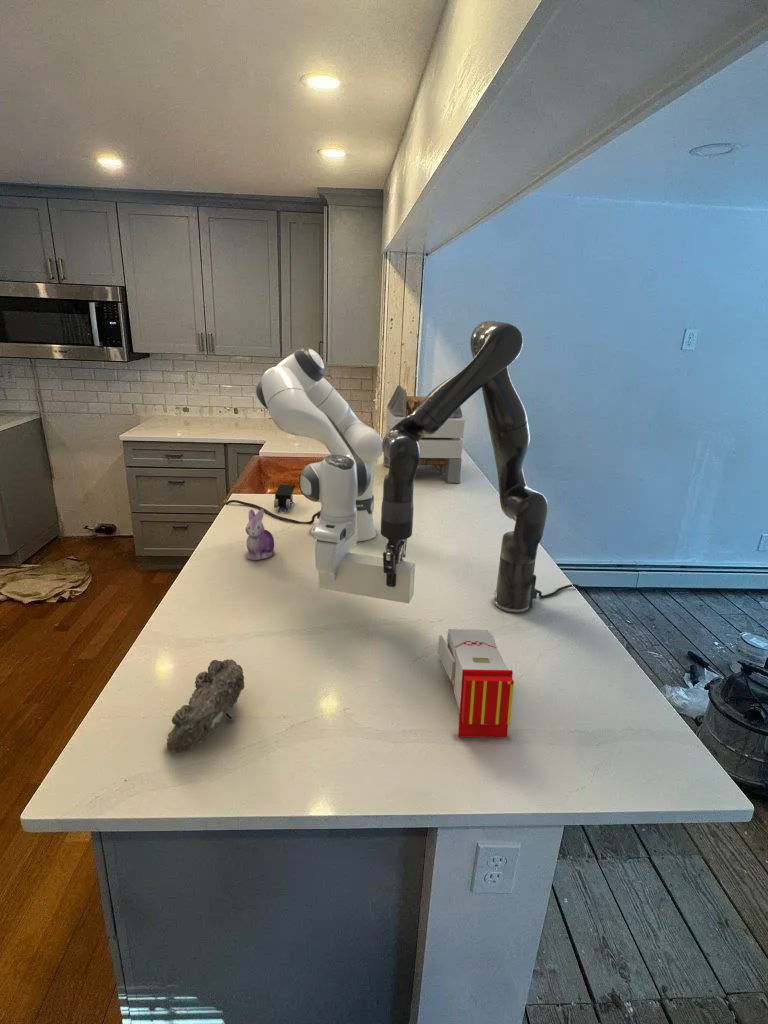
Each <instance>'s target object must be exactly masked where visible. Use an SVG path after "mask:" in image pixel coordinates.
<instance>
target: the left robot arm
mask: <svg viewBox="0 0 768 1024" xmlns="http://www.w3.org/2000/svg"><path fill="white" fill-rule="evenodd" d="M325 373H326V366H325V363H324V361H323V359H322V356H321V355H320V353H317V352H316V351H315V350H314V349H312V348H311V347H309V346H302V347H300V348H298V349H296V350H294V352H293V353H291V354H290V355H288V356H287V357H285V358H283V360H281V361H280V362H278V364H277V365H275V366H272V367H270V368H268V369H267V370H265V372H263V375H262V377H261V379H260V381H259V382H258V383H257V385H256V388H255V393H256V394H255V395H256V397H257V399H258V401H259V402H260V403H261V405H262V406H263V407H264V408H265V409H267V411H268V412H269V415H270V418H271V420H272V421H273V423H274V424H275V426H276V427H277V428H278V429H279V430H281V431H282V432H284V433H286V434H289V435H293V436H300V437H305V438H309V439H313V440H315V441H318V442H320V443H321V444H323V445H324V446H325V447H326V449H327V450H328V452H329V454H330V455H327V456H326V457H324V458H323V459H322V460H321V461H317V462H312V463H307V464H306V465H304V467H303V468H302V469H301V471H300V473H299V476H298V477H299V478H298V486H299V491H300V494H301V495H303V497H305V498H306V499H307V500H309V501H311V502H313V503H320V505H321V506H320V507H321V508H320V510H319V511H317V512H315V513H314V514H313V515H312V517H311V520H310V521H300V520H296V519H293V518H288V517H283V516H280V515H277V514H275V513H273V512H271V511H269V510H268V509H266V508H264V507H262V506H260V505H258V504H254V503H250V502H245V501H241V500H237V499H230V500H228V501H226V502H225V503H224V505H229V504H232V503H237V504H240V505H244V506H248V507H253V508H256V509H259V510H260V509H262V508H263V509H264V513H266V514H268V515H269V516H271V517H273V518H276V519H279V520H282V521H286V522H290V523H293V524H301V525H312V524H313V523H314V522H315V518H316V519H318V521H317V523H315V524H314V525H313V526H312V528H311V530H310V533H311V536H312V537H313V540H315V545H314V561H315V568H316V571H318V572H319V571H320V572H325V573H327V575H328V581H330V582H334V581H335V580H336V578H337V577H336V576H337V573H335V569H336V566H337V565H338V564H339V563H340V562H341V560H342V559H343V558H344V557H345V555H346V554H347V553H351V551H352V549H354V547H355V546H356V545H357V542H365V541H368V540H372V539H373V538H375V537H376V535H377V532H376V528H375V523H374V513H373V512H374V509H375V496H374V476H375V470H376V466H377V463H378V460H379V458H380V457H381V456H382V454H383V451H382V441H383V438H382V436H381V435H380V433H379V432H378V431H377V430H376V429H374V428H373V427H370V426H369V425H367V424H366V423H364V422H363V421H361V420H360V419H359V418H358V416H357V415H356V414H355V412H354V410H352V409H351V407H350V404H349V403H348V402H347V401H346V400H345V399H344V398H343V396H342V395H341V394H340V393H339V392H338V391H337V390H336V389H335V388H334V386H333V385H332V384H331V383H330V382H329V381H328V380H327V379H326V378H325V377H324V375H325Z"/></svg>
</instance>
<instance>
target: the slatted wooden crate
mask: <svg viewBox="0 0 768 1024" xmlns="http://www.w3.org/2000/svg"><path fill="white" fill-rule="evenodd" d="M407 394H408V393H407V390H406V389H404V388H403V387H402V385H399V384H398V385H397V386H396V388H395V390H394V392H393V394H392V395H391V398H390V400H389V402H388V404H387V405H386V413H385V414H386V415H385V423H386V428H385V435H386V434H387V433H388V431H389V430H390V429H391V428H392V427H394V426H395V425H396V424H397V423H399V422H400V421H401V420H403V419H404V418H405V417H407V416H408V415H410V414H411V413H412V412H413V411H414V410H415V409H416V407H418V405H419V404H420V403H421V402H422V401H423V400H424V399H425V398H426V397H427V396H415V395H414V396H413V395H412V396H411V395H407ZM464 429H465V419H464V418H463V411H462V408H461V406H460V407H459V408H458V409H457V410H456V411H455V412H454V413H453V414H452V416H451V417H450V418H449V419H448V420H447V421H446V422H445V423H444V424H443V425H442V426H441V427H440V429H439V430H438V431H437V432H435V433H434V434H433V435H429V436H424V437H423V438H422V439H420V440H419V441H418V444H419V448H420V459H419V464H418V467H436V468H437V470H438V469H439V473H440V474H441V475H443V478H444V479H445V481H446V482H447V483H449V484H455V483H456V484H459V483H461V472H462V461H463V460H462V453H463V442H464V441H463V440H462V439H463V438H464V431H465V430H464ZM383 466H384V467H388V468H389V467H390V459H389V458H388V457H386V456H385V454H384V453H383Z"/></svg>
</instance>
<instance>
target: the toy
mask: <svg viewBox="0 0 768 1024" xmlns="http://www.w3.org/2000/svg"><path fill="white" fill-rule="evenodd" d="M446 640H447V643H446V641H445V639H444V636H443V635H442V634H439V637H438V646H437V656H438V657H439V659H440V661H441V663H442V666H443V668H444V670H445V672H446V674H447V677H448V679H449V681H450V684H451V687H452V690H453V693H454V697H455V701H456V705H457V708H458V711H459V714H458V715H459V716H458V730H457V731H458V732H457V737H458V738H508V731H509V726H510V725H511V717H512V707H513V697H514V696H513V695H514V684H515V680H514V679H513V673H514V671H513V670H512V669H508V667H507V665H506V662H505V661H504V659H503V658H502V655H501V653H500V651H499V649H498V647H497V643H496V639H495V637H494V635H493V634H491V632H490V631H489V629H467V628H466V629H465V628H463V629H461V628H460V629H459V628H448V630H447V639H446Z"/></svg>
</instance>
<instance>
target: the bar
mask: <svg viewBox="0 0 768 1024" xmlns="http://www.w3.org/2000/svg"><path fill="white" fill-rule="evenodd" d="M389 568H392V567H390V566H389ZM383 570H384V567H383V557H379V556H373V555H366V554H361V553H353V552H350V553H347V554H346V555H345V557H344V558H343V559H342V560H341V562H340V563H339V564H338V565H337V566H336V569H335V573H337V576H336V577H337V578H336V580H335V581H334V582H330V581H328V575H327V573H325V572H320V571H318V589H321V590H328V591H333V592H340V593H345V594H349V595H350V594H351V595H357V596H361V597H368V598H374V599H380V600H384V601H385V600H386V601H392V602H397V603H403V604H410V602H411V600H412V598H413V596H414V591H415V578H416V577H415V575H416V562H412V561H406V560H404V561H400V563H399V564H398V565H397V572H396V585H395V587H389V586H387V585H386V578H387V573H384V571H383Z"/></svg>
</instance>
